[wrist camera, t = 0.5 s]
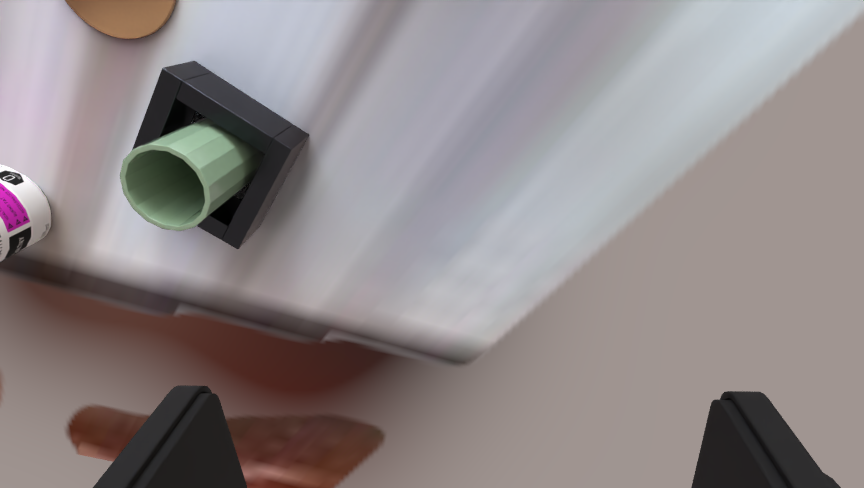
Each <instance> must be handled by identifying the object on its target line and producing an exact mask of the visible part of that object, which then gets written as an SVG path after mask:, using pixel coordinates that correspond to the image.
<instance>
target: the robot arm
mask: <svg viewBox="0 0 864 488" xmlns="http://www.w3.org/2000/svg"><path fill="white" fill-rule="evenodd" d="M93 488H247V485H246V482H245V479H244V475H243V472H242V469H241V466H240V463H239V460H238V457H237V453H236V450H235V447H234V444H233V441H232V438H231V435H230V432H229V428H228V425H227V422H226V419H225V416H224V413H223V410H222V406H221V403H220V400H219V398H218V396H217V395H216V394H212V392H211V390H210V389H209V388H208V387H207V386H176V387H174V388H173V389H172V390H171V391H170V392H169V393H168V394H167V396H166V397H165V398H164V400H163V401H162V402H161V403H160V404H159V406H158V407H157V408H156V409H155V411H154V412H153V413H152V414H151V416H150V417H149V418H148V419H147V421H146V422H145V423H144V424H143V426H142V427H141V428H140V429H139V431H138V432H137V433H136V434H135V436H134V437H133V438H132V439H131V441H130V442H129V443H128V444H127V446H126V447H125V448H124V449H123V451H122V452H121V453H120V454H119V456H118V457H117V458H116V459H115V461H114V462H113V463H112V464H111V466H110V467H109V468H108V469H107V471H106V472H105V473H104V474H103V476H102V477H101V478H100V479H99V481H98V482H97V483H96V485H95V486H94V487H93ZM692 488H841V487H840V486H839V485H838V484H837V483H836V482H835V481H834V480H833V479H832V478H831V477H829V476H828V475H826V474H824V473H823V472H822V471H821V470H820V468H819V467H818V465H817V464H816V463H815V461H814V460H813V459H812V457H811V456H810V455H809V453H808V452H807V450H806V449H805V448H804V446H803V445H802V444H801V442H800V441H799V440H798V438H797V437H796V436H795V434H794V433H793V431H792V430H791V429H790V427H789V426H788V425H787V423H786V422H785V421H784V420H783V418H782V416H781V415H780V414H779V412H778V411H777V410H776V409H775V407H774V406H773V404H772V403H771V402H770V400H769V399H768V398H767V397H766V396H765V395H764V394H763V393H761V392H732V391H730V392H729V391H728V392H724V393H723V394H722V396H721V398H720V400H713V402H712V403H711V406H710V411H709V415H708V419H707V424H706V428H705V432H704V436H703V441H702V445H701V450H700V454H699V458H698V462H697V466H696V471H695V475H694V479H693V484H692Z"/></svg>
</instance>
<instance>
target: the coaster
mask: <svg viewBox="0 0 864 488" xmlns="http://www.w3.org/2000/svg"><path fill="white" fill-rule="evenodd" d="M65 1H66V2H67V4H68V5H69V6H70V7H71V9H72V10H73V11H74V12H75V13H76V14H77V15H78V16H79V17H80V18H81V19H82V20H84V21H85V22H86V23H88V24H89V25H90V26H92V27H93V28H95V29H97V30H98V31H100V32H102V33H105V34H107V35H110V36H113V37H117V38H122V39H136V38H142V37H146V36H149V35H151V34H153V33H155V32H156V31H158V30H159V29H160V28H161V27H162V26H163V25H164V24H165V23H166V22H167V20H168V19H169V18H170V16H171V14H172V12H173V9H174V6H175V3H176V0H65Z"/></svg>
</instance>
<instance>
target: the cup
mask: <svg viewBox="0 0 864 488" xmlns="http://www.w3.org/2000/svg"><path fill="white" fill-rule="evenodd" d="M263 158H264V153H262V152H261V151H259V150H258V149H256V148H254V147H253V146H251V145H250V144H248V143H246V142H245V141H243V140H242V139H240V138H238V137H237V136H235V135H234V134H232V133H230V132H229V131H227V130H226V129H224V128H222V127H221V126H219V125H218V124H216V123H214V122H213V121H211V120H210V119H208V118H203V119H200V120H198V121H196V122H194V123H191V124H189V125H187V126H185V127H182V128H180V129H178V130H176V131H173V132H171V133H169V134H166V135H164V136H162V137H160V138H157V139H155V140H153V141H151V142H148V143H146V144H144V145H141V146H139V147H137V148H135V149H133V150H132V151H131V152H130V153H129V155H128V156H127V157H126V158H125V159H124V160H123V164H122V168H121V172H120V179H121V184H122V189H123V193H124V195H125V196H126V198H127V200H128V201H129V203H130V205H131V206H132V208H133V209H134V210H135V211H136V212H137V213H138V214H140V215H141V216H142V217H143V218H144V219H145V220H146V221H148V222H150V223H152V224H154V225H156V226H158V227H160V228H162V229H168V230H176V231H182V230H186V229H190V228H193V227H196V226H197V225H198V224H200V223H201V222H202V221H203V220H204V219H206V218H207V217H208V216H209V215H211V214H212V213H213V212H214V211H216V210H217V209H218V208H219V207H221V206H222V205H223V204H224V203H225V202H227V201H228V200H229V199H230V198H232V197H233V196H234V195H235V194H237V193H238V192H239V191H240V190H241V189H243V188H244V187H245V186H246V185H248V184H249V183H250V182H251V181H252V179H253V177H254V175H255V173H256V171H257V169H258V167H259V166H260V164H261V162H262V160H263Z"/></svg>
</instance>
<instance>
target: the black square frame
mask: <svg viewBox="0 0 864 488" xmlns="http://www.w3.org/2000/svg"><path fill="white" fill-rule="evenodd" d="M195 111H197V112H198V113H200V114H202V115H203V116H205V117H206V118H208V119H210V120H211V121H213V122H214V123H216V124H218V125H219V126H221V127H222V128H224V129H226V130H227V131H229V132H230V133H232V134H234V135H235V136H237V137H238V138H240V139H242V140H243V141H245V142H246V143H248V144H250V145H251V146H253V147H254V148H256V149H258V150H259V151H261V152H262V153H264V154H265V156H264V158H263V160H262V162H261V164H260V166H259V167H258V169H257V171H256V173H255V175H254V177H253V179H252V181H251V183H250V185H249V187H248V189H247V191H246V193H245V195H244V197H243V199H242V201H241V200H239V199H237V198H236V197H234V196H233V197H232V198H230V199H229V200H228V201H227V202H225V203H224V204H223V205H222V206H221V207H219V208H218V209H217V210H216V211H214V212H213V213H212V214H211V215H209V216H208V217H207V218H206V219H204V220H203V221H202V222H201V223H200V224H198V225H197V226H198V227H200V228H202V229H203V230H205V231H207V232H209V233H210V234H212V235H214V236H216V237H217V238H219V239H222V240H223V241H224V242H226V243H228V244H229V245H231V246H233V247H235V248H236V249H239V248H240V247H241V246H242V245H243V244H244V243H245V242H246V241H247V240H248V239H249V237H250V236H251V235H252V234H253V233H254V232H255V231H256V230H257V229H258V228H259V227H260V225H261V223H262V221H263V219H264V217H265V216H266V214H267V212H268V210H269V208H270V206H271V205H272V203H273V201H274V199H275V197H276V195H277V194H278V192H279V190H280V188H281V186H282V184H283V183H284V181H285V179H286V177H287V175H288V173H289V172H290V170H291V168H292V166H293V164H294V162H295V161H296V159H297V157H298V155H299V153H300V151H301V150H302V148H303V146H304V144H305V142H306V140H307V139H308V137H309V134H307V133H305V132H304V131H302V130H301V129H299V128H298V127H296V126H295V125H293V124H291V123H290V122H288V121H287V120H285V119H284V118H282V117H280V116H279V115H277V114H276V113H274V112H273V111H271V110H270V109H268V108H267V107H265V106H263V105H262V104H260V103H259V102H257V101H256V100H254V99H253V98H251V97H249V96H248V95H246V94H245V93H243V92H242V91H240V90H239V89H237V88H235V87H234V86H232V85H231V84H229V83H228V82H226V81H225V80H223V79H221V78H220V77H218V76H217V75H215V74H214V73H211V71H209V70H208V69H206V68H205V67H203V66H201V65H200V64H198V63H197V62H195V61H192V62H187V63H183V64H178V65H174V66H169V67H165V68H162V71H161V74H160V76H159V79H158V82H157V85H156V87H155V90H154V93H153V95H152V98H151V101H150V103H149V106H148V109H147V111H146V114H145V117H144V120H143V122H142V125H141V128H140V130H139V133H138V136H137V138H136V141H135V144H134V147H133V149H135V148H137V147H139V146H141V145H144V144H146V143H148V142H151V141H153V140H155V139H157V138H160V137H162V136H164V135H166V134H169V133H171V132H173V131H176V130H178V129H180V128H182V127H185V126H187V125H189V124H190V123H191V120H192V118H193V115H194V113H195ZM133 149H132V150H133Z"/></svg>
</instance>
